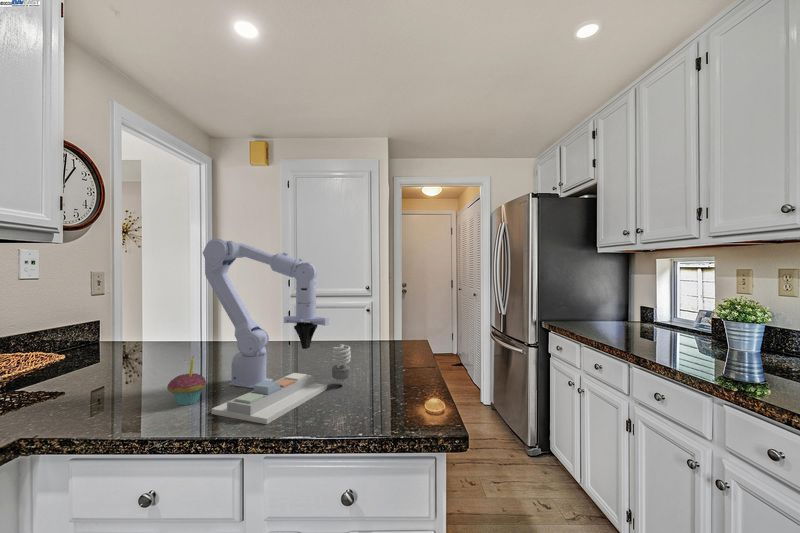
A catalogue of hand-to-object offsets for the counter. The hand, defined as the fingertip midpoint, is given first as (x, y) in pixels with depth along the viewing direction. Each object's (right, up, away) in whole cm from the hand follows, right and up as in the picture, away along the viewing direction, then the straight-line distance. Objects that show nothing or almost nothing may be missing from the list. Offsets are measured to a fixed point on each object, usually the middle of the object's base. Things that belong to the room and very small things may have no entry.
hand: (305, 348), depth 109 cm
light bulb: (+11, -11, -2) cm, 15 cm away
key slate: (-5, -7, -17) cm, 20 cm away
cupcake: (-26, -10, -16) cm, 33 cm away
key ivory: (-1, -9, -6) cm, 11 cm away
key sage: (-8, -9, -23) cm, 26 cm away
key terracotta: (-3, -9, -12) cm, 15 cm away
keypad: (-4, -10, -14) cm, 18 cm away
